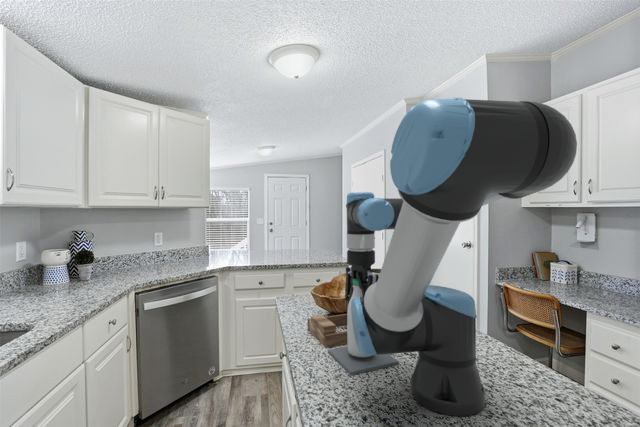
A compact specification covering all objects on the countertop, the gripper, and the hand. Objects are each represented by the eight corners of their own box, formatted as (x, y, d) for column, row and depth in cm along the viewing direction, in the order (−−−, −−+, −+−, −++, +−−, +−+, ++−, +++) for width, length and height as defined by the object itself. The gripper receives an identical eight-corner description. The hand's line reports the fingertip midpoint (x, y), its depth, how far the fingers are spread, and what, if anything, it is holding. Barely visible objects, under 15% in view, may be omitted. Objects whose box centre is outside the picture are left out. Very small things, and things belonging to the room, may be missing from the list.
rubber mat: (398, 364, 87) (398, 361, 87) (350, 375, 82) (350, 372, 82) (370, 344, 100) (370, 341, 100) (327, 352, 95) (327, 349, 95)
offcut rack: (373, 339, 104) (373, 313, 104) (326, 347, 98) (326, 320, 98) (350, 322, 119) (349, 300, 119) (307, 329, 113) (307, 306, 113)
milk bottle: (375, 359, 86) (375, 282, 86) (345, 357, 88) (345, 281, 88) (376, 347, 94) (376, 276, 94) (349, 345, 96) (348, 275, 95)
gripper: (394, 253, 82) (395, 345, 83) (355, 244, 101) (355, 319, 102) (368, 255, 80) (369, 350, 80) (332, 246, 99) (333, 323, 99)
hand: (361, 333), depth 91 cm, fingers closed on milk bottle, 8 cm apart
